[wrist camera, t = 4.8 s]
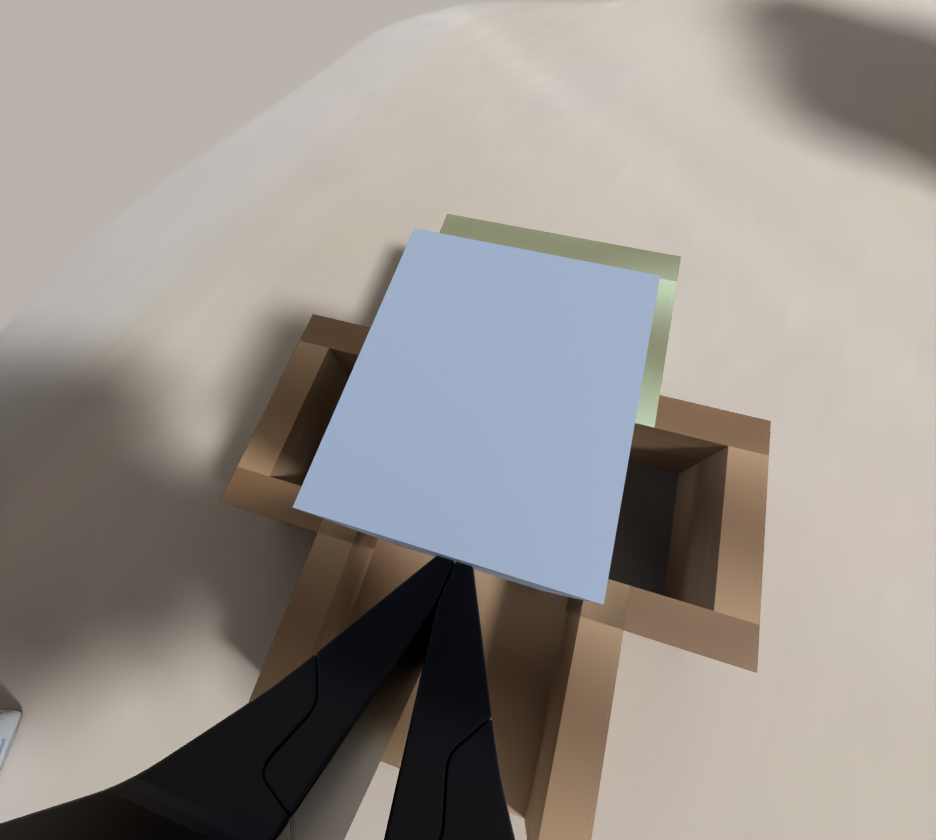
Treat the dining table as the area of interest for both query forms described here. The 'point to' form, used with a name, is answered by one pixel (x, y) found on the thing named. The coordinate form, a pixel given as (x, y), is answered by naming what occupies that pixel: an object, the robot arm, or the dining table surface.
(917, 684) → the dining table surface
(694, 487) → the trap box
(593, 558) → the block
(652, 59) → the dining table surface
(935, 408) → the dining table surface
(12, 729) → the medicine box
